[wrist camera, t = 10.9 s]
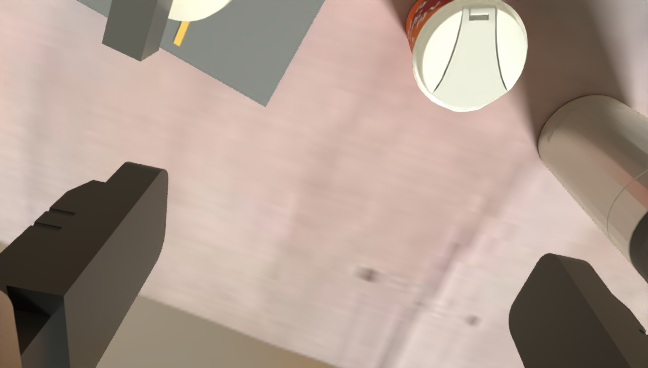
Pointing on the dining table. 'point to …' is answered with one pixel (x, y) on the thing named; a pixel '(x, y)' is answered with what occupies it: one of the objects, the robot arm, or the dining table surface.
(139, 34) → the coupling
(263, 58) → the post board
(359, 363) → the dining table surface
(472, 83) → the paper cup
